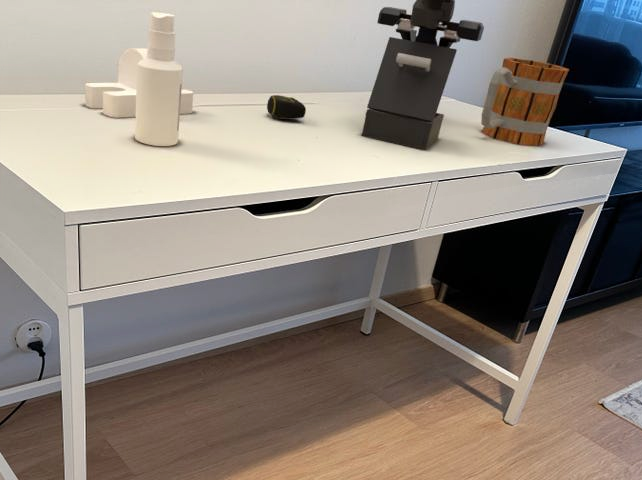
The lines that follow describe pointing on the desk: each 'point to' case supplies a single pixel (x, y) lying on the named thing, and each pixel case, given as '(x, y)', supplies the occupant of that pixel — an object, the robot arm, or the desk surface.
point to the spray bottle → (159, 86)
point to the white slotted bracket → (125, 89)
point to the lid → (411, 79)
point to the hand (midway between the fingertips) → (418, 73)
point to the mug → (522, 101)
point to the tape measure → (285, 107)
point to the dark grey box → (401, 129)
